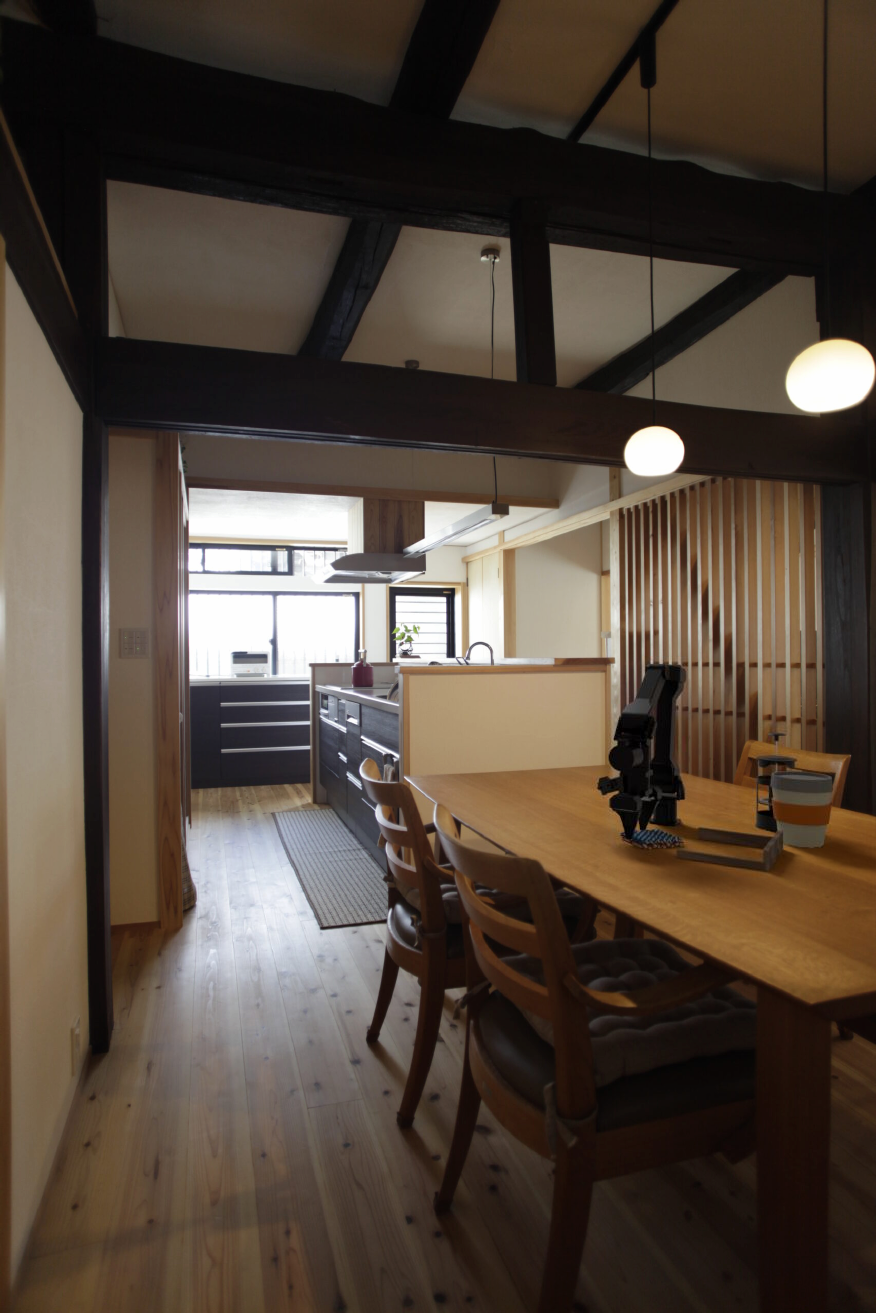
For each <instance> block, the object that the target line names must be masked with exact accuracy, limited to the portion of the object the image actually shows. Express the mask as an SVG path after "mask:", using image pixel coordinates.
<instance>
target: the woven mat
mask: <svg viewBox="0 0 876 1313" xmlns="http://www.w3.org/2000/svg"><path fill="white" fill-rule="evenodd" d="M619 836H620V837H621V839H622V840H623V841H626V842H628V843H631V844H633V845H635V846H637V847H639V848H641V849H645V850H646V849H649V850H652V849H656V848H657V849H661V848H663V849H667V848H668V847H670V848H674V847H676V846H678V845H679V846H678V847H684V845H683V844H684V841H683V839H682V838H681V837H679V836H678V837H677V835H673V834H672V833H668V832H667V831H664V830H663V829H662V830H661V829H659V828H657V829H656V828H655V829H654V828H653V829H646V830H641V831H640V830H637V829H635V831H634V834H633V837H632V839H631V840H630V839H626V836H625V832H624V831H622V832H620V835H619Z"/></svg>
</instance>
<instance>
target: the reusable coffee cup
mask: <svg viewBox="0 0 876 1313" xmlns="http://www.w3.org/2000/svg"><path fill="white" fill-rule="evenodd" d="M771 775H772V776H771V785H770V786H771V787H772V791H773V798H772V806H773V813H774V818H775V819H776V821H777V829H778V830H781V831H783V843H784V844H783V845H786V844H787V846H790V845H791V847H795V846H797V847H796V848H802V847H809V848H808V849H815V848H814V847H819V848H822V847H821V846H823V845H825V838H826V837H825V836H826V831H827V825H829V824H830V821H831V820H830V818H831V812H832V802H831V797H832V792H833V791H834V786H833V778H832V776H830V775H827V774H823V773H818V772H807V771H795V770H793V771H792V770H791V771H789V770H788V771H787V770H785V771H777V772H776V771H774V772H772V773H771ZM823 847H824V846H823Z"/></svg>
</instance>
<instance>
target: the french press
mask: <svg viewBox="0 0 876 1313" xmlns="http://www.w3.org/2000/svg"><path fill="white" fill-rule="evenodd" d="M766 735H768V736H774V738H773V740H774V741H775V755H769V754H768V755H758V756H756V759H757V760H758V767H760V768H762V769H764V768H768V767H769V766H771V765H773V766H775V772H778V766H787V767H789V769H792V770H794V769H796V762H797V761H798V759H797V758H795V757H790V756H784V755H778V742H780V740H779V739H780V737H784V736H787V734H786V733H783V732H768V733H767V734H766ZM771 776H772V774H769V775H767V774H764V775H757V776H756V780H755V781H756V784H755V785H756V787H755V788H756V790H755V791H756V794H755V795H756V801H755V802H756V806H755V808H756V809H755V810H756V811H755V812H756V814H755V816H756V818H755V819H756V822H754V823H755V824H754V825H755V827H756V828H757V827H758V829H760V828H761V829H760V830H763V829H766V830H765V831H768V830H772V831H771V832H775V831H778V829H777V821H776V819H775V818H774V813H773V806H772V798H773V791H772V787H771V786H770V785H771ZM759 785H763V786H768V797H761V798H759ZM759 804H760V805H764V806H768V809H761V810H759Z"/></svg>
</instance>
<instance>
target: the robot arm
mask: <svg viewBox="0 0 876 1313" xmlns="http://www.w3.org/2000/svg"><path fill="white" fill-rule="evenodd" d="M644 670H645V671H644V673H645V674H644V676H643V679H642V681H641V684H640V686H639V688H638V691H637V694H636V696H635V698H634V700H633V701H632V702H630V703H629V704H627V705H625V707H624V709H623V710H622V712H621V713H620V715H619V716H618V719H617V724H616V728H615V732H614V735H613V742H617V743H616V745H615V746H613V747H612V748H611V749H610V751H609V752H608V757H607V758H608V762H609V764H610V767H612V769H614V770H615V771H618V772H619V775H618V776H615V777H611V778H610V777H609V776H608V775H605V776H601V777H599V778H598V782H597V783H596V784H597V787H596V788H597V790H598V791H600V793H601V796H607V795H608V794H611V793H615V792H618V793H616V794H613V795H612V796H611V797H610V798H609V801H608V807H609V809H611V810H612V811H613V812H615V813H616V814H617V815H618V816H619V818H620V821H621V824H622V828H623V832H625V836H626V839H630V840H631V839H632V837H633V834H634V831H635V830H637V826H639V831H641V830H647V827H648V825H649V824H650V823H651V824H658V825H667V826H673V827H674V826H676V825H678V824H679V823H681V821H682V818H678V801H679V802H680V801H682V800H683V801H685V800H686V788H685V786H684V785H685V784H684V782H683V779H682V776H681V773H680V772H681V770H680V767H679V765H678V764H677V761H676V760H675V759H674V755H675V753H674V752H675V736H676V735H675V734H676V733H675V732H676V714H677V713H676V712H677V711H676V709H677V700H678V698H679V697H680V696H681V694H682V693H683V692H684V687H685V686H684V685H685V683H686V681H687V671H686V669H685V668H683V667H682V665H681V664H669V663H668V664H667V663H649V664H646V665H645V669H644ZM655 709H656V711H655ZM654 711H655V712H656V713H655V712H654ZM653 739H654V750H653V752H654V754H653V758H652V759H651V744H652V740H653Z"/></svg>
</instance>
